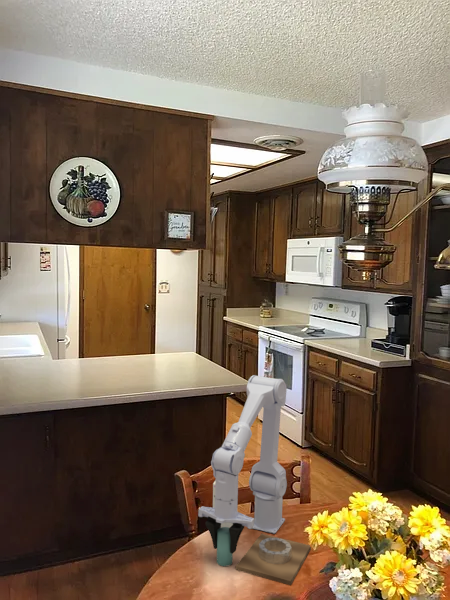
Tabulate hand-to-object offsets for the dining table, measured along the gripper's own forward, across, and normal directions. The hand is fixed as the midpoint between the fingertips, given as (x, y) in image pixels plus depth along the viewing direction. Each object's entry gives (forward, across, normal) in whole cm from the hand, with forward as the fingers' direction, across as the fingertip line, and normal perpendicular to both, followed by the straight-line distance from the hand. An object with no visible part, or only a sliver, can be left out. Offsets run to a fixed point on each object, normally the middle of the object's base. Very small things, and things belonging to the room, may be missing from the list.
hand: (224, 549), depth 130 cm
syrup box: (+3, -7, +15) cm, 17 cm away
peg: (+3, 0, 0) cm, 3 cm away
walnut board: (+3, +11, +7) cm, 13 cm away
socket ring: (+3, +11, +7) cm, 13 cm away
